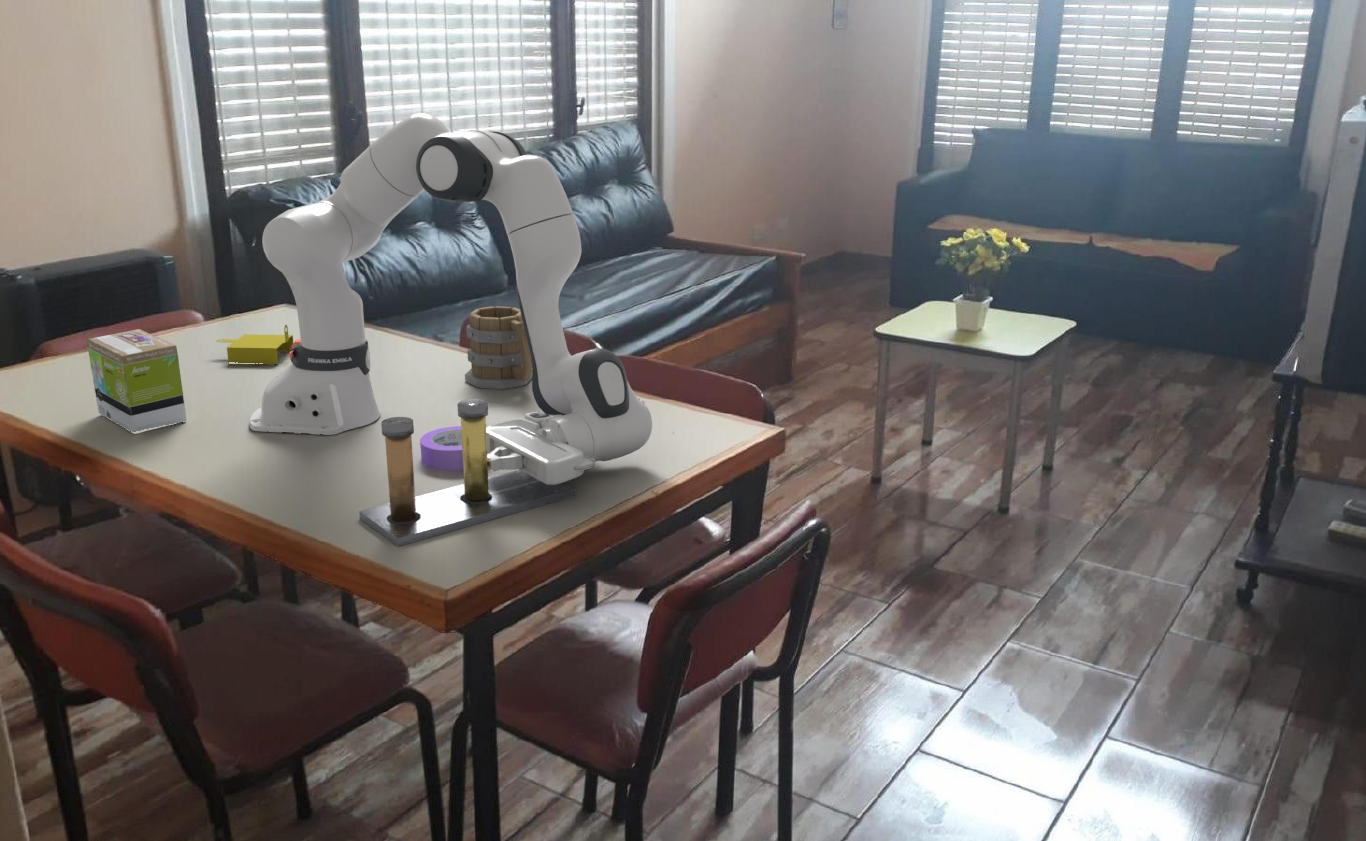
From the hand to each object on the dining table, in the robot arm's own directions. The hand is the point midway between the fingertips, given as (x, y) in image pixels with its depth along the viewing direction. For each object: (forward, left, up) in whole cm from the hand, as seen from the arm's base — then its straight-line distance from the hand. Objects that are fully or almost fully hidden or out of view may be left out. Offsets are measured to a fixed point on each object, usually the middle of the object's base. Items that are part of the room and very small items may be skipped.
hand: (486, 463), depth 180 cm
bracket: (-55, +81, -7) cm, 98 cm away
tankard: (0, +60, -6) cm, 60 cm away
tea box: (-64, +41, -7) cm, 77 cm away
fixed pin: (-11, -8, -5) cm, 15 cm away
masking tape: (-6, +19, -7) cm, 21 cm away
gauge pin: (-1, -1, -5) cm, 5 cm away
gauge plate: (-2, -2, -6) cm, 7 cm away
